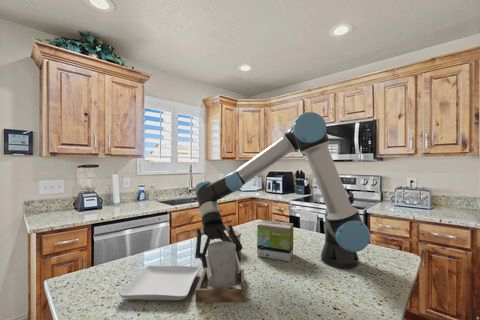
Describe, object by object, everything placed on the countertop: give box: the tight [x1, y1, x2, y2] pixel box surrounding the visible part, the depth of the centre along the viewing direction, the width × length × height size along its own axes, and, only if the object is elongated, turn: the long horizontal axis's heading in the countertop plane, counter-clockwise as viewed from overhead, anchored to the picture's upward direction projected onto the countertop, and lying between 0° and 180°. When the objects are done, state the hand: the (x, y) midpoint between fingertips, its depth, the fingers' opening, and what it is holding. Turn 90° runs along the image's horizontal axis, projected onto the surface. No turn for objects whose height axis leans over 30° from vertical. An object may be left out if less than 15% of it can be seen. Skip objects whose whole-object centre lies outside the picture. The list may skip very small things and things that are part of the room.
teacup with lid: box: [224, 226, 242, 254], centre depth 116 cm, size 12×9×12 cm
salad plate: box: [119, 265, 201, 301], centre depth 82 cm, size 21×21×3 cm
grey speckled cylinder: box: [207, 240, 237, 289], centre depth 81 cm, size 10×10×12 cm
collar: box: [195, 268, 245, 303], centre depth 81 cm, size 15×15×4 cm
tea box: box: [256, 219, 294, 262], centre depth 111 cm, size 15×10×15 cm, turn 68°
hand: (225, 274), depth 78 cm, fingers closed on grey speckled cylinder, 9 cm apart
